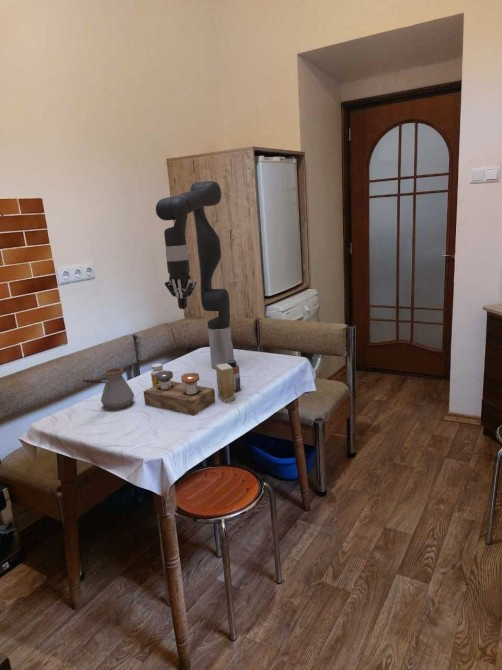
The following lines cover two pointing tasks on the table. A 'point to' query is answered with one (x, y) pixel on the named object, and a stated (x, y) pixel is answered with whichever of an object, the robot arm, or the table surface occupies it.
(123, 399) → the coffee pot
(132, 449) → the table surface
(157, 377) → the plug grey
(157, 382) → the supplement bottle
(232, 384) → the skincare box
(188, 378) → the plug rust
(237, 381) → the supplement bottle
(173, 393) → the socket board
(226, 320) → the robot arm
